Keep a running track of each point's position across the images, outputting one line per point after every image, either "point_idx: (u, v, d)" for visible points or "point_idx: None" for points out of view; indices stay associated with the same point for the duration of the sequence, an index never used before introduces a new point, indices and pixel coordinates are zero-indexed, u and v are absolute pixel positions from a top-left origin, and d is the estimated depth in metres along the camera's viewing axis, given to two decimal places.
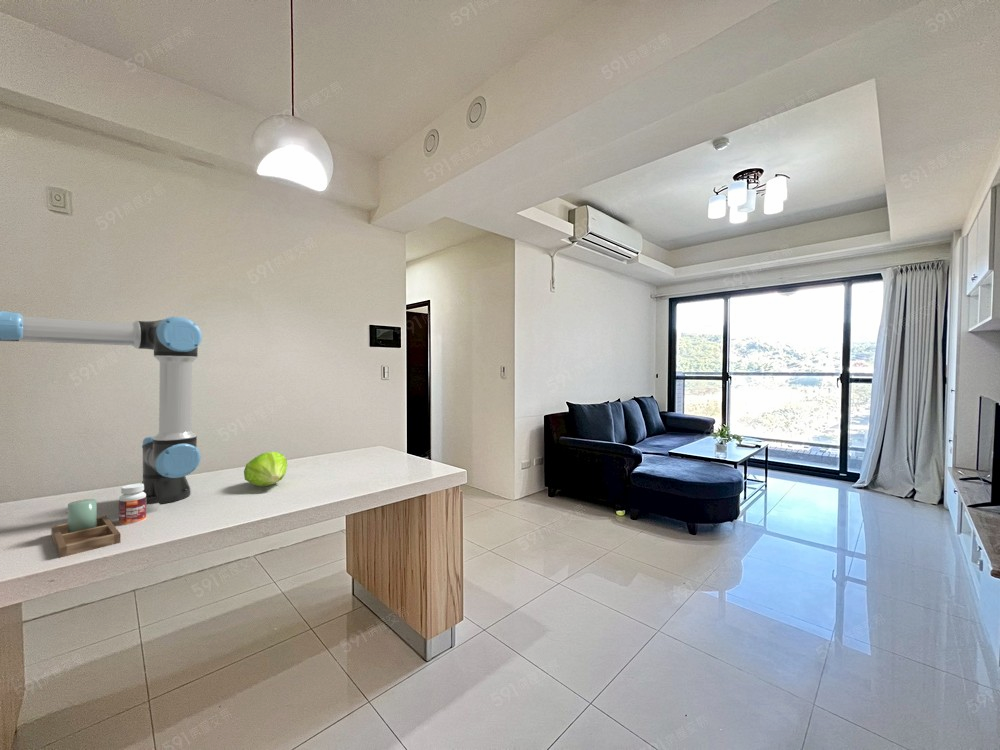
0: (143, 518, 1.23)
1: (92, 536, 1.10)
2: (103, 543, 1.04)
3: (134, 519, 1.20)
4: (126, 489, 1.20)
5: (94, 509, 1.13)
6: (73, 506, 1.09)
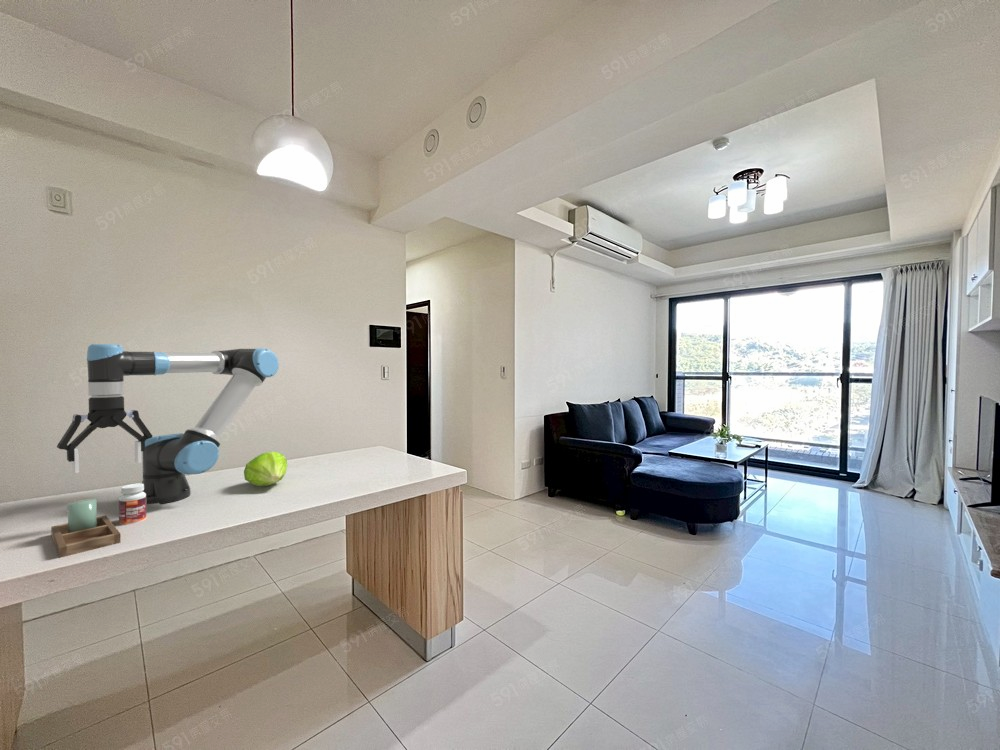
0: (143, 518, 1.23)
1: (92, 536, 1.10)
2: (103, 543, 1.04)
3: (134, 519, 1.20)
4: (126, 489, 1.20)
5: (94, 509, 1.13)
6: (73, 506, 1.09)
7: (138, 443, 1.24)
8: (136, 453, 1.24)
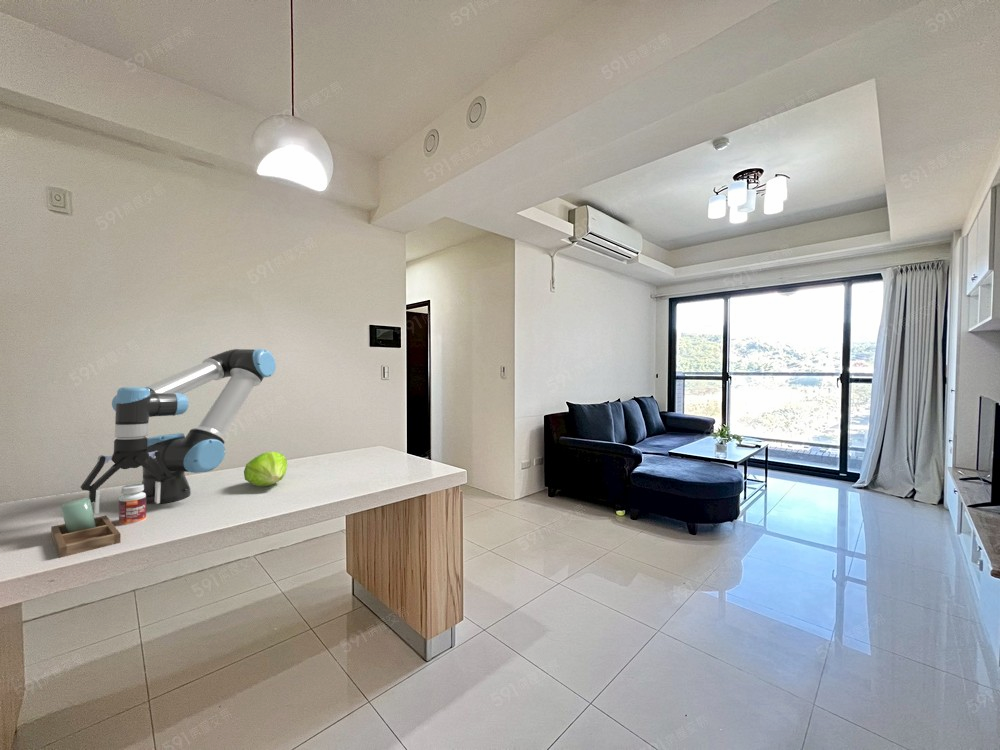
0: (143, 518, 1.23)
1: (92, 536, 1.10)
2: (103, 543, 1.04)
3: (134, 519, 1.20)
4: (126, 489, 1.20)
5: (89, 509, 1.12)
6: (66, 508, 1.08)
7: (158, 484, 1.26)
8: (155, 493, 1.26)
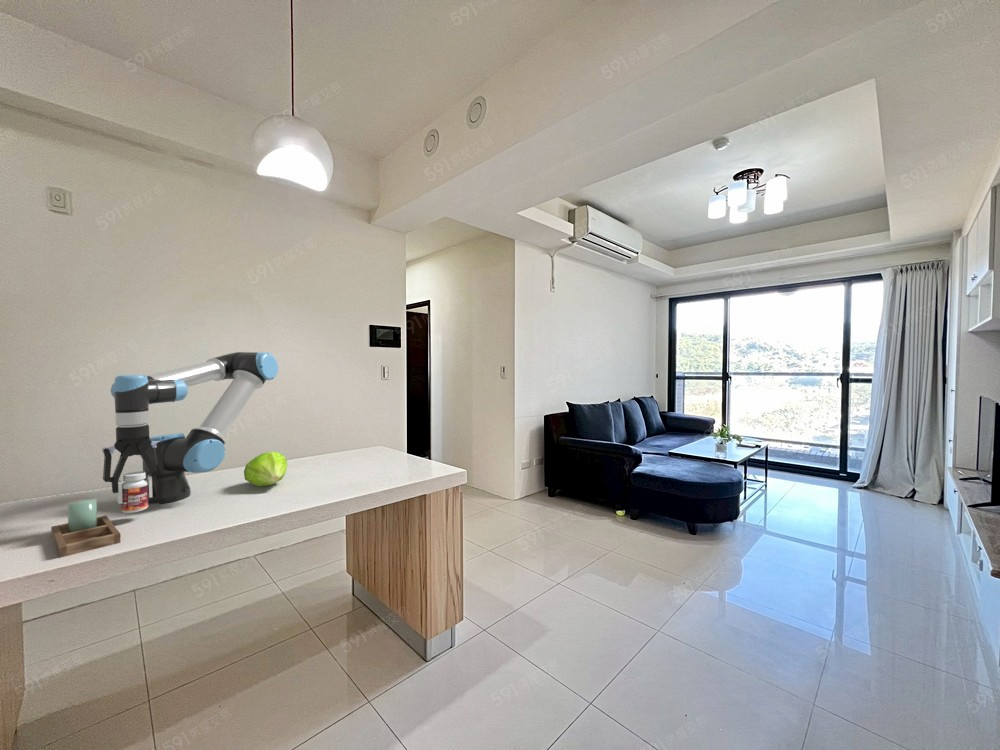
0: (145, 506, 1.23)
1: (92, 536, 1.10)
2: (103, 543, 1.04)
3: (137, 506, 1.21)
4: (128, 477, 1.20)
5: (94, 509, 1.13)
6: (73, 506, 1.09)
7: (149, 478, 1.24)
8: None
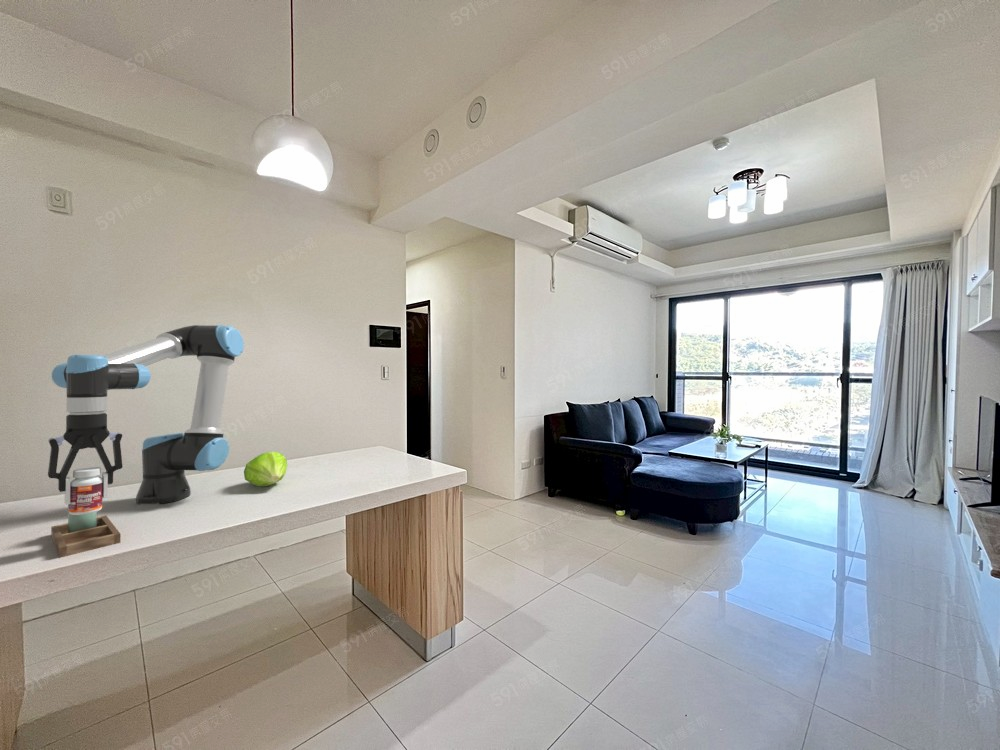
0: (98, 507, 1.06)
1: (92, 536, 1.10)
2: (103, 543, 1.04)
3: (87, 507, 1.04)
4: (78, 472, 1.03)
5: None
6: None
7: (104, 475, 1.07)
8: None
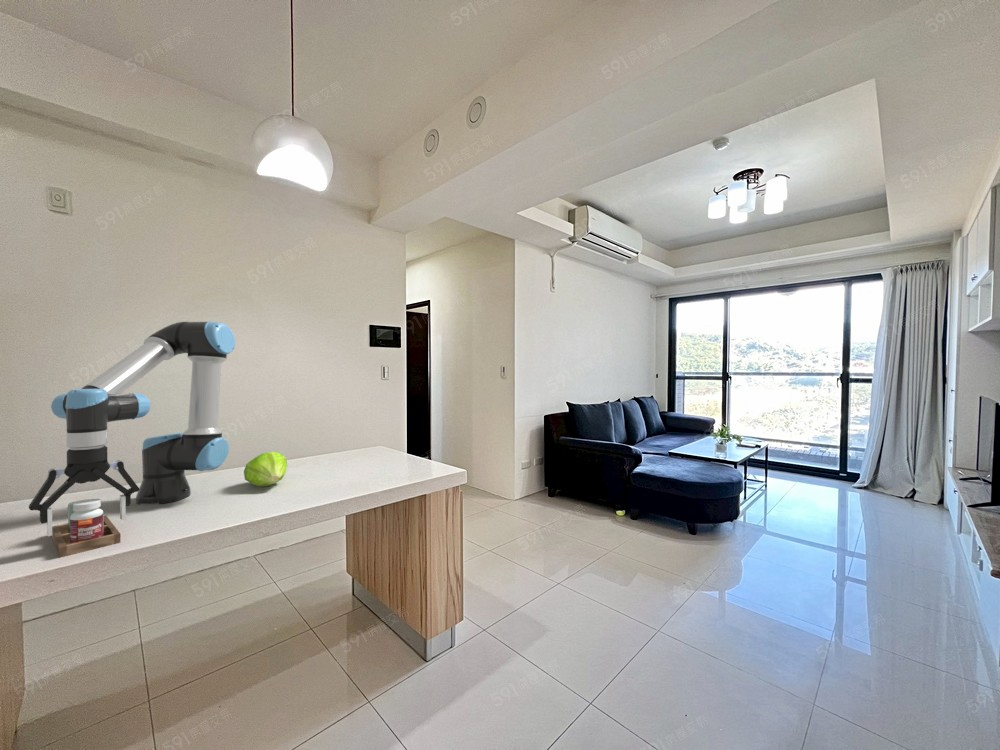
0: None
1: None
2: (103, 543, 1.04)
3: None
4: (78, 506, 1.03)
5: None
6: None
7: (122, 498, 1.10)
8: (120, 509, 1.11)
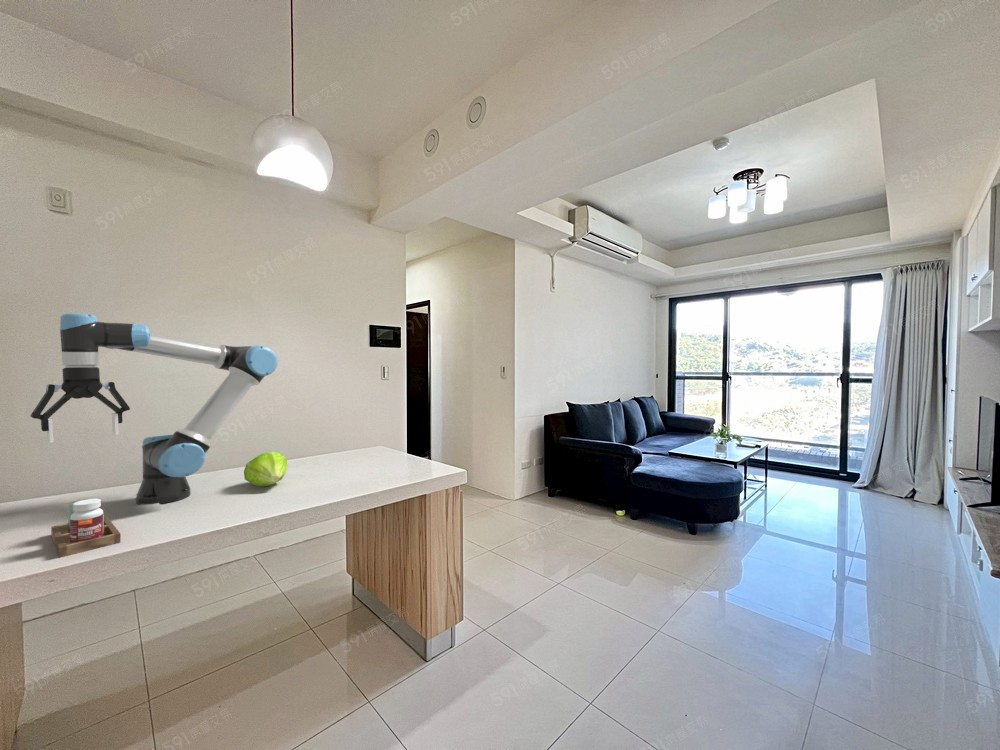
0: None
1: None
2: (103, 543, 1.04)
3: None
4: (78, 506, 1.03)
5: None
6: None
7: (115, 415, 1.23)
8: (113, 425, 1.24)
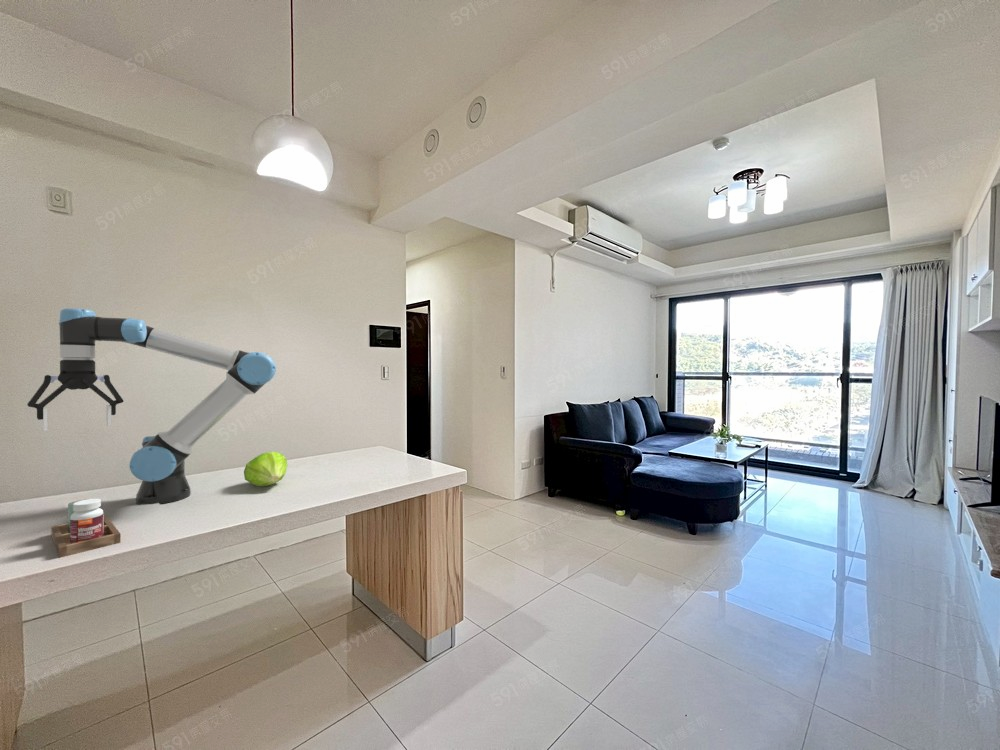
0: None
1: None
2: (103, 543, 1.04)
3: None
4: (78, 506, 1.03)
5: None
6: None
7: (108, 407, 1.28)
8: (107, 417, 1.28)
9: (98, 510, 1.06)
